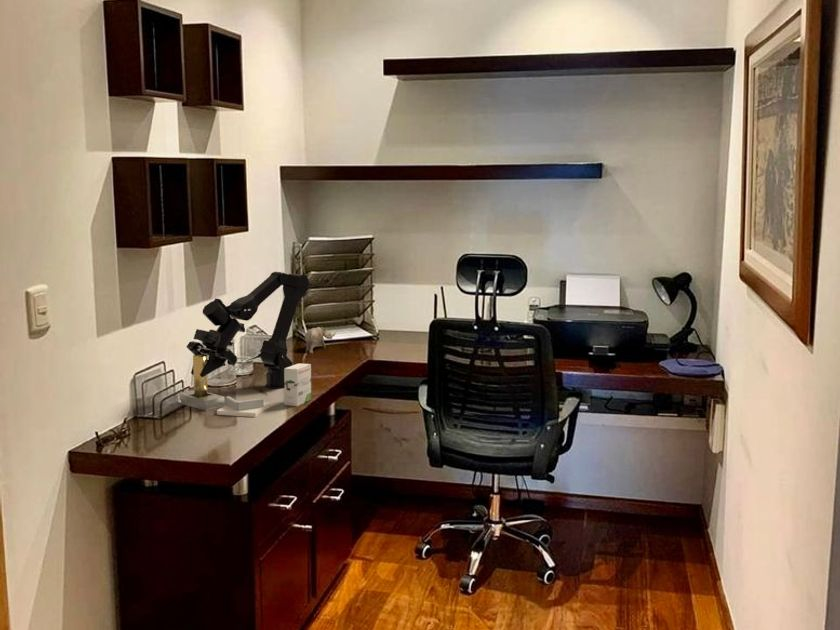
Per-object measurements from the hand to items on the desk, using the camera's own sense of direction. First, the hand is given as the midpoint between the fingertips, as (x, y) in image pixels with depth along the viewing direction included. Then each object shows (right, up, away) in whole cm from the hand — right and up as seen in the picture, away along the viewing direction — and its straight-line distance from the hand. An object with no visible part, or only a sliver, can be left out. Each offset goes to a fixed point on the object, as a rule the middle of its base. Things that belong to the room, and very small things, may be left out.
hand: (196, 375), depth 256 cm
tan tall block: (+1, -7, +2) cm, 7 cm away
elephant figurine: (+26, +4, +90) cm, 94 cm away
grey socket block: (+1, -9, +3) cm, 10 cm away
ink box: (+30, -9, +7) cm, 32 cm away
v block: (+15, -10, -3) cm, 19 cm away
